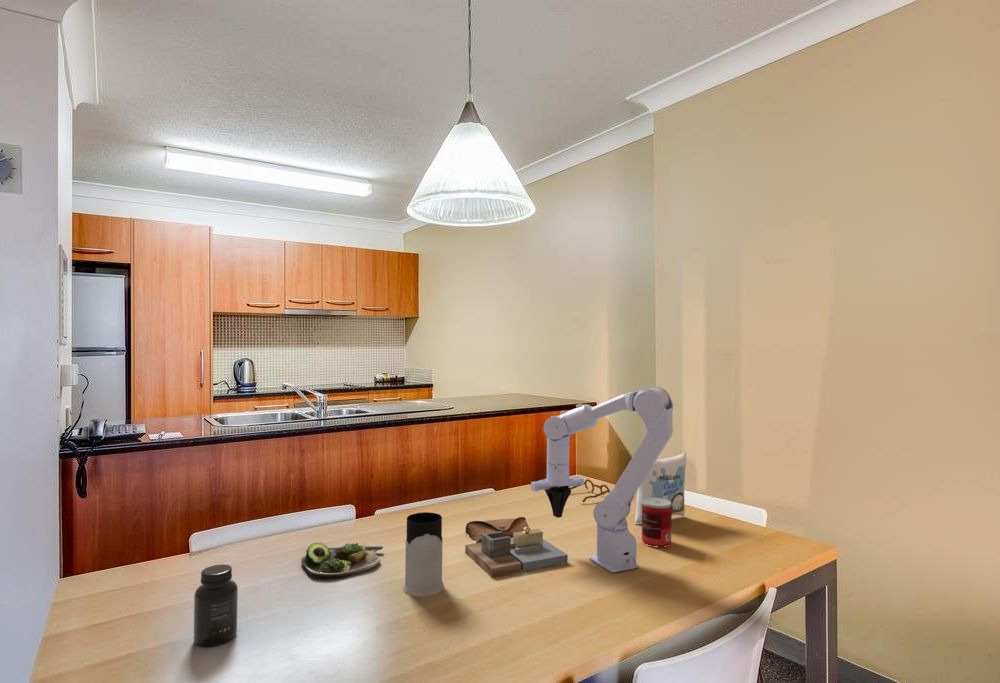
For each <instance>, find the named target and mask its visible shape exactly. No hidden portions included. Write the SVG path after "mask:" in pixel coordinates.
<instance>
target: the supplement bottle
mask: <svg viewBox="0 0 1000 683" xmlns="http://www.w3.org/2000/svg"><path fill="white" fill-rule="evenodd" d="M232 569H233V567H232V566H231V565H229V564H224V563H223V564H214V565H210V566H208V567H205V568H204V569H202V570H201V572H200V585H199V586H198V587H197V588H196V589H195V591H194V595H193V596H194V597H193V599H194V600H193V642H194V643H195V645H197V646H199V647H201V648H211V647H213V648H214V647H218V646H221V645H224V644H226V643H228V642H230V641H231V640H232V639H233V638H235V637H236V635H237V631H238V608H239V607H238V606H239V605H238V604H239V603H238V600H239V599H238V598H239V597H238V594H239V593H238V592H239V590H238V589H239V588H238V584H237V583H236V581H234V580H232V578H233V574H232V572H233V571H232Z"/></svg>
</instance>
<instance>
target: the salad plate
mask: <svg viewBox="0 0 1000 683" xmlns="http://www.w3.org/2000/svg"><path fill="white" fill-rule="evenodd" d="M365 545H366V544H365V543H363V544H362V545H361V544H359V543H358V542H356V543H345V545H339V546H336V547H328V546H327V545H326V544H324V543H322V542H314V543H310V545H309V546H308V547H307V549H306V550H305V554H304V555H303V556H302V557H301V559H300V563H301V565H302V568H303V570H304V571H305V573H306V574H307V575H308V576H309V575H310V577H312V578H313V577H314V578H313V579H317V578H318V579H317V580H336V579H341V578H345V577H347V576H348V577H349V576H352V575H356V574H359V573H362V572H366V571H369V570H370V569H373V568H374V567H376V566H377V565H378V564H379V563H380V562H381V558H380V557H379V556H378V555H377V554H375V553H376V552H378V551H381V550H383V548H384V547H383V546H382V545H380V546H379V545H377V546H374V545H373V546H365ZM360 563H363V564H365V566H364V567H360V568H357V569H352V570H350V569H351V567H352V566H353V565H358V564H360ZM366 563H367V564H366ZM320 572H322V573H320Z"/></svg>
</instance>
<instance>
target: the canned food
mask: <svg viewBox="0 0 1000 683" xmlns="http://www.w3.org/2000/svg"><path fill="white" fill-rule="evenodd" d="M672 516H673V515H672V505H671V502H670V501H668V500H666V499H661V498H646V499H643V500H642V522H641V541H643V542H644V543H645V544H648V545H651V546H658V547H664V546H668V545H670V546H671V544H672V523H673V522H672V520H673V519H672V518H673V517H672ZM643 542H642V543H643ZM644 543H643V544H644ZM645 544H644V545H645ZM668 547H669V546H668Z"/></svg>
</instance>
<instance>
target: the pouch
mask: <svg viewBox="0 0 1000 683" xmlns="http://www.w3.org/2000/svg"><path fill="white" fill-rule="evenodd" d="M686 464H687V452H686V451H685V452H683V453H680V454H678V455H675V456H671V457H665V458H661V459H658V458H657V460H656V461H655V463H654V464H653V466H652V468H651V469H650V471H649V472H648V474H647V476H646V477H645V479H644V480H643V482H642V483H641V485H640V487H639V488H638V490H637V491H636V493H637V494H636V501H635V502H636V503H635V516H634V524H635V523H638V524H640V523H642V500H643V499H646V498H661V499H666V500H668V501H670V502H671V505H672V516H680V517H683V516H684V517H685V515H686V514H685V513H686V512H685V508H686V507H685V483H686V482H685V480H686Z"/></svg>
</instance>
